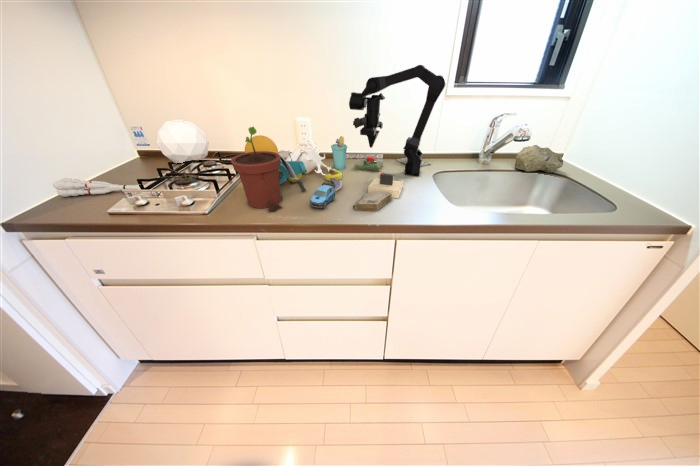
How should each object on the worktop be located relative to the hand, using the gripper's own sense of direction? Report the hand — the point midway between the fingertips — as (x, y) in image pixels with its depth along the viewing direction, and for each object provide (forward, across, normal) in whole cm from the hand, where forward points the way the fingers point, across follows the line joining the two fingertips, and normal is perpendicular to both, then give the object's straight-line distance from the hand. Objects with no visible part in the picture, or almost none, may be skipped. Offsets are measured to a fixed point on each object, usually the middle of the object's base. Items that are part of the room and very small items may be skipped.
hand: (371, 147), depth 117 cm
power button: (+6, 0, 0) cm, 6 cm away
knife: (+10, +23, -10) cm, 27 cm away
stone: (+10, +38, +11) cm, 41 cm away
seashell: (+3, +18, -32) cm, 36 cm away
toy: (+5, +21, -55) cm, 59 cm away
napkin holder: (+10, -16, +19) cm, 27 cm away
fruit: (+10, +29, -26) cm, 40 cm away
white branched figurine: (+2, +16, -21) cm, 27 cm away
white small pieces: (-1, +14, -32) cm, 35 cm away
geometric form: (+9, +19, -97) cm, 99 cm away
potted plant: (+10, +47, -25) cm, 54 cm away
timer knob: (+7, +25, +13) cm, 29 cm away
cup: (+10, +6, -14) cm, 18 cm away
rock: (+2, -18, +76) cm, 78 cm away
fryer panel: (+10, +25, +13) cm, 30 cm away
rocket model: (+7, +69, -103) cm, 124 cm away
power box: (+10, 0, 0) cm, 10 cm away
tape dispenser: (+6, +35, -24) cm, 43 cm away
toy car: (+10, +43, -7) cm, 45 cm away
